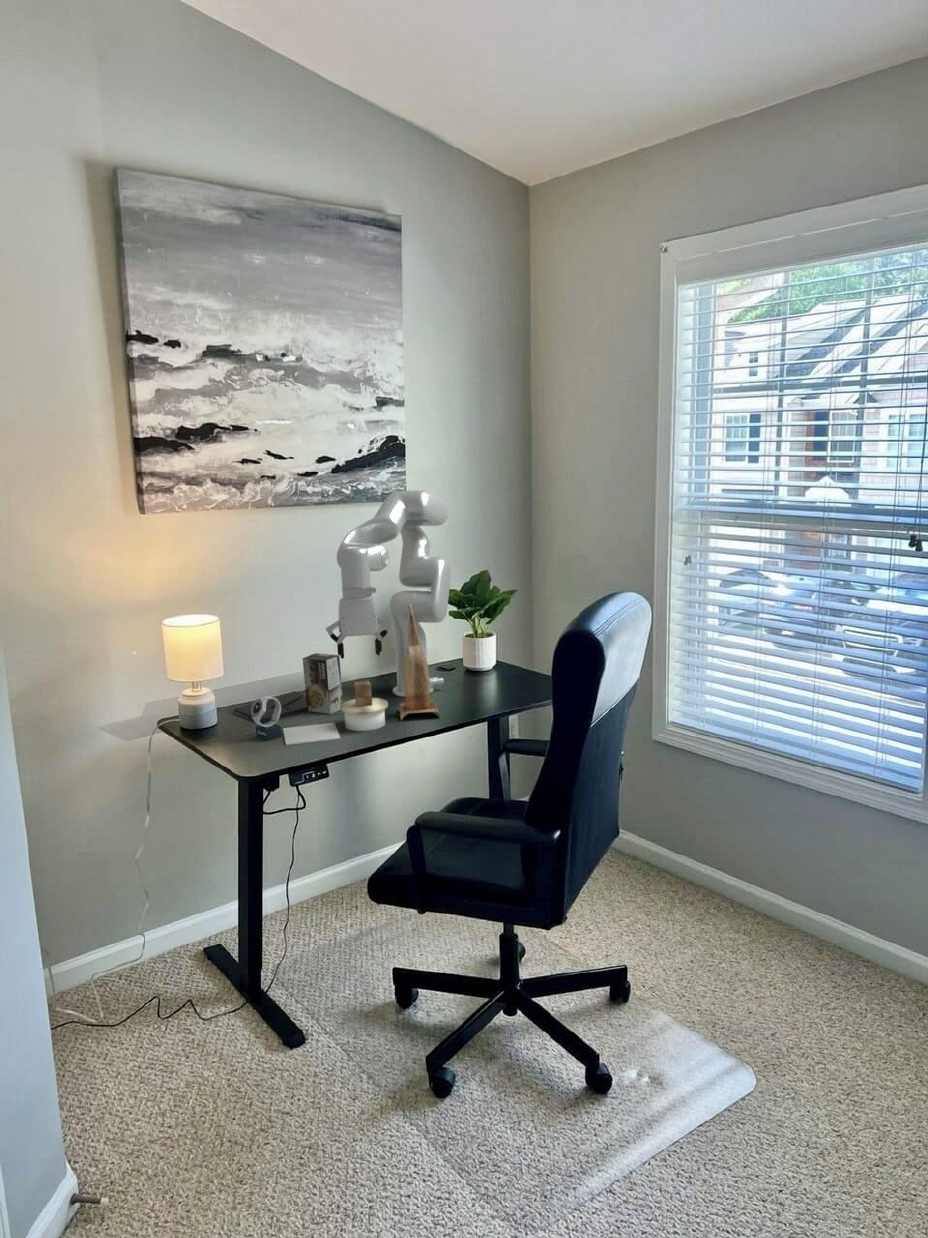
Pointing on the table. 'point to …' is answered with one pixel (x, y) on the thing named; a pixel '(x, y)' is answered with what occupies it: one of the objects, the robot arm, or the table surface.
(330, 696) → the coffee box
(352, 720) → the bowl
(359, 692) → the lid
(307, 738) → the mat
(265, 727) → the watch
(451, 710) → the table surface
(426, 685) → the tan tower model
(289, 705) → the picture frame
